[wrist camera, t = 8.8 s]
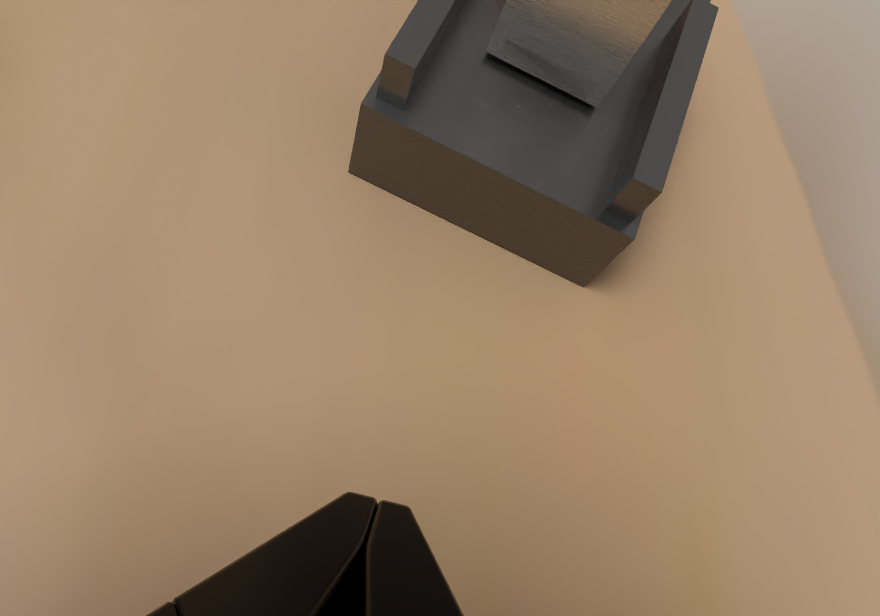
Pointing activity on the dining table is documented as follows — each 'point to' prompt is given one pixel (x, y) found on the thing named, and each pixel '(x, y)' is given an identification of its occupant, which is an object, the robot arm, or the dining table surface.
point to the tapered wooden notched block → (574, 40)
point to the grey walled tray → (527, 135)
